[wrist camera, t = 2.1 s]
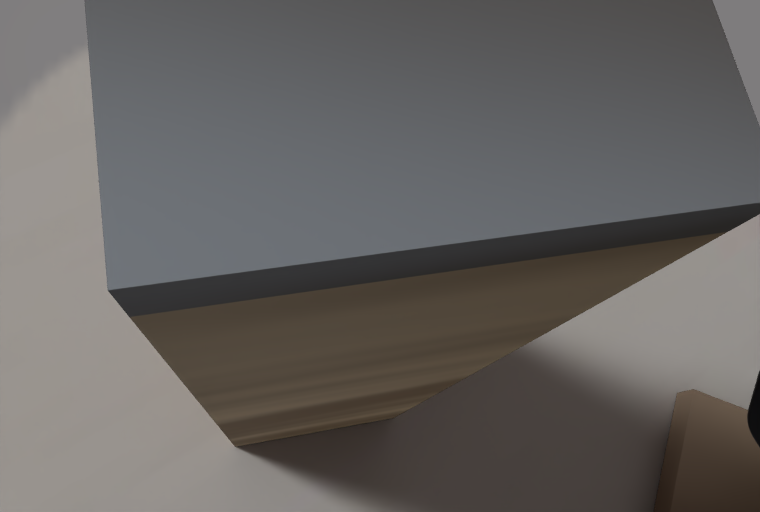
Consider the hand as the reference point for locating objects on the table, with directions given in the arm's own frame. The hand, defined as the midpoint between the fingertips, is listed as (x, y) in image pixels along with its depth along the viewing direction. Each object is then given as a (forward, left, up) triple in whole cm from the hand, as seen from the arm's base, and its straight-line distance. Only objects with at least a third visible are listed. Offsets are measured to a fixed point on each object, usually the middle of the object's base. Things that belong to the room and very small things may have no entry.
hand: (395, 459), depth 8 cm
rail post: (+2, +2, -10) cm, 11 cm away
